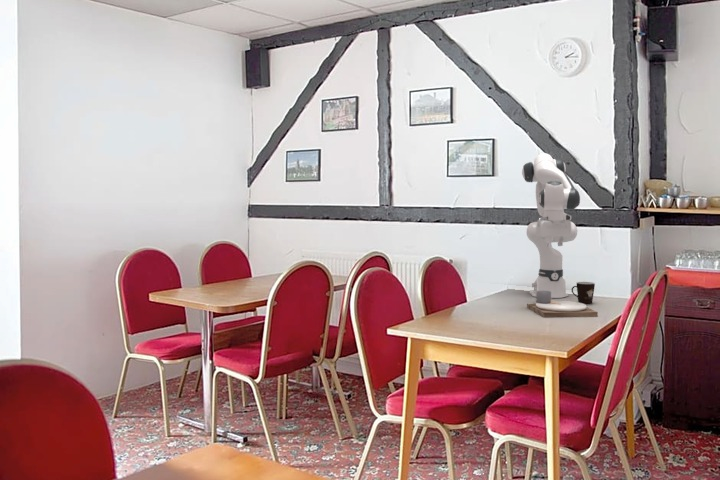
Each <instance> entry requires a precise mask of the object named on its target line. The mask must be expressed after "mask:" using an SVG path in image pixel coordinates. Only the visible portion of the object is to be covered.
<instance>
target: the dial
mask: <svg viewBox="0 0 720 480" xmlns="http://www.w3.org/2000/svg"><path fill="white" fill-rule="evenodd" d="M535 299H536V300H535V304H536V307H538V308H540V309H545V310H552V311H582V310H585V309H586V308H588V306H587V305H588V304H583V303H579V302H578V301H571V300H570V301H569V300H552V298H551V292H550V291H536V297H535Z"/></svg>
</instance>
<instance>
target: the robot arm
mask: <svg viewBox="0 0 720 480" xmlns="http://www.w3.org/2000/svg"><path fill="white" fill-rule="evenodd" d="M566 169H567V166H566V164H565V162H564V160H563V158H553V157H552V155H550V154H549V153H546V152H542V153H539V154H538V155H536V157H535V158H534V161H532V162H531V161H529V162H527V163H524V165H523V166H522V171H521V175H522V177H523V179H524V181H525V182H526V183H534V182H535V183H536V184H535V199H536V200H535V201H536V208H537V213H538V214H539V216H540V217H539V218H538V219H537V221H534V222H530V223H529V224H528V226H527V228H526V236H527V239H528V240H529V241H530V242H532V243H533V244H534V246H535V247H536V248H537V250H538V253H539V269H538V277H537V278H536V279H535V281H534V282H532V283H531V287H532V288H533V290H529V294H530V295H531V296H532V297H535V298H536V291H550V292H551V299H561V298H565V297H569V294H568V293H567V290H566V279H564V278H563V276H564V269H563V254H562V253H561V252H560V250H558V249H556V248H553V246H552V243H557V247H563V246H564V243H567V242H568V243H569V242H572V241H574V240H575V239H576V238H577V235H578V228H577V226H576V224H575V223H574V222H573V221H571V220H572V215H571V214H568V213H566V212H565V210H571V211H573V210H575V209H577V207H579V205H580V203H581V195H580V192H579V191H578V190H577V188H576V187H575V186H574V185H573V183H572V181H571V180H570V177H568V175H567V174H566V171H567V170H566Z"/></svg>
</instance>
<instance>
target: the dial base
mask: <svg viewBox="0 0 720 480" xmlns="http://www.w3.org/2000/svg"><path fill="white" fill-rule="evenodd" d="M526 309H527V310H530V311H531V312H533V313H536V314H537V315H539V316H540V317H543V318H584V317H585V318H589V317H593V318H594V317H595V318H596V317H598V316H599V314H598V313H599V312H598V311H596V310H593V309H592V308H590V307H587V308H586V309H585V310H582V311H552V310H545V309H540V308H538V307H536V303H532V302H531V303H526Z"/></svg>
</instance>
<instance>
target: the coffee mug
mask: <svg viewBox="0 0 720 480" xmlns="http://www.w3.org/2000/svg"><path fill="white" fill-rule="evenodd" d="M595 285H596V282H592V281H576V285H574V286H572V287H571V293H572V294H573V296H575V297H576V298H577V302H579V303H583V304H585V305H592V304H593V302H594V301H593V300H594V292H595ZM575 288H576V293H577V294H575V292H574V289H575Z"/></svg>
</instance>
